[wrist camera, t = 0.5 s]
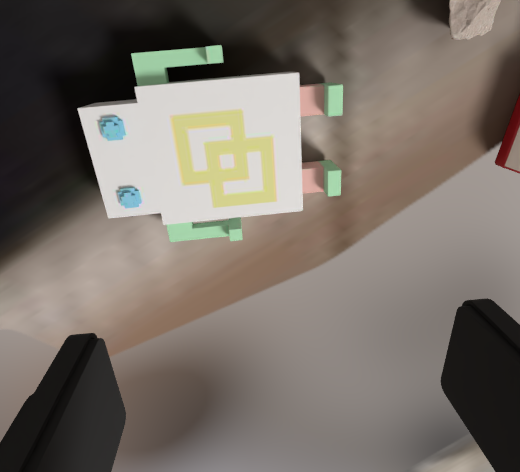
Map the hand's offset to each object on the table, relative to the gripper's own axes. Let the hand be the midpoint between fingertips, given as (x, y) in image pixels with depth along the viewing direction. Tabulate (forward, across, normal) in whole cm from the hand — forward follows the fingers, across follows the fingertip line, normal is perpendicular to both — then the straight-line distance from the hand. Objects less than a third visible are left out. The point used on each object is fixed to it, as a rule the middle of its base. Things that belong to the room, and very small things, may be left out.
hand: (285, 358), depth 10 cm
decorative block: (+36, +3, +1) cm, 36 cm away
